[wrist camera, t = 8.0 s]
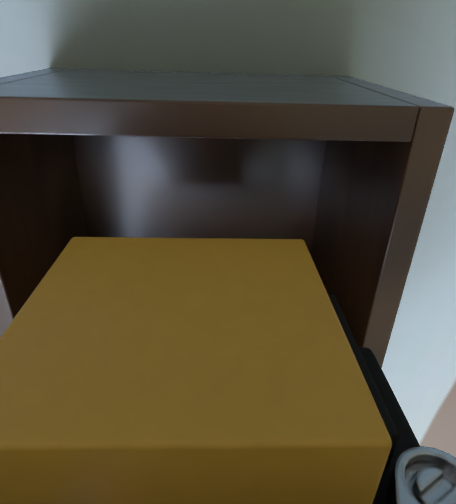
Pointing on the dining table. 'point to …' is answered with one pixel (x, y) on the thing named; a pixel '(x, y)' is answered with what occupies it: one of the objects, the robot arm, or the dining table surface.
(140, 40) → the dining table surface
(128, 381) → the block
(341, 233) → the chest
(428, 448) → the robot arm
